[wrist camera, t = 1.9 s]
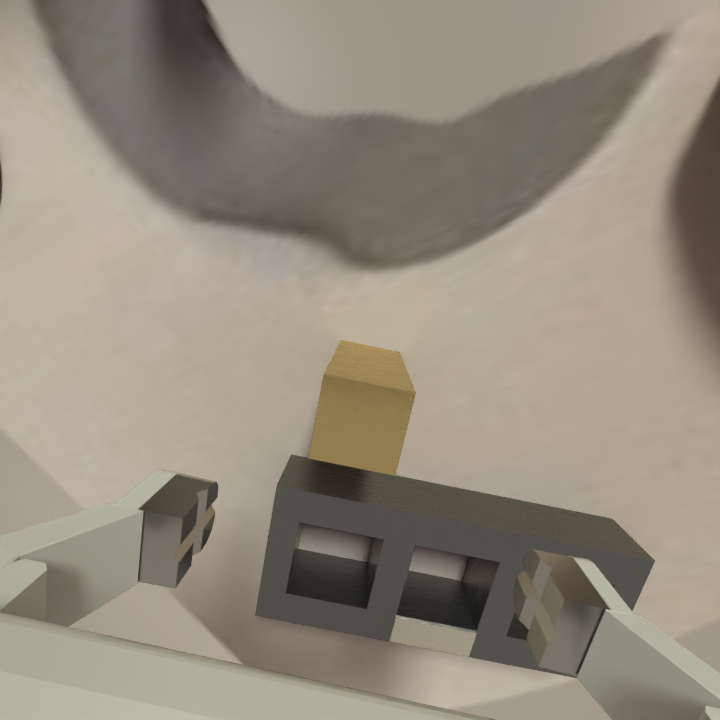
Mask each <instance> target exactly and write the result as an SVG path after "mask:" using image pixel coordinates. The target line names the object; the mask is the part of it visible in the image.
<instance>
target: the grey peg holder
mask: <svg viewBox="0 0 720 720" xmlns="http://www.w3.org/2000/svg"><path fill="white" fill-rule="evenodd" d="M303 523H305V524H310V525H315V526H320V527H325V528H330V529H335V530H340V531H345V532H350V533H355V534H360V535H365V536H370V537H374V538H373V543H372V547H371V551H370V555H369V559H368V563H366V562H361V561H356V560H351V559H346V558H341V557H336V556H331V555H325V554H320V553H315V552H310V551H305V550H300V549H298V546H299V541H300V536H301V530H302V525H303ZM415 545H416V546H421V547H426V548H431V549H436V550H441V551H446V552H451V553H456V554H461V555H466V556H470V558H469V561H468V564H467V567H466V570H465V574H464V577H463V580H462V581H457V580H452V579H447V578H442V577H437V576H432V575H427V574H422V573H417V572H412V571H408V570H409V566H410V563H411V559H412V555H413V552H414V548H415ZM528 549H533V550H539V551H544V552H549V553H554V554H559V555H564V556H572V557H578V558H583V559H588V560H590V561H591V562H593V563H594V564H595V565H596V566H597V568H598V569H599V570H600V571H601V573H602V574H603V575H604V576H605V578H606V579H607V580H608V582H609V583H610V584H611V585H612V587H613V588H614V589H615V591H616V592H617V593H618V594H619V596H620V597H621V598H622V599H623V601H624V602H625V603H626V605H627V606H628V607H629V608H630V610H631V611H633V608H634V606H635V604H636V602H637V600H638V597H639V595H640V593H641V591H642V588H643V586H644V584H645V582H646V580H647V577H648V575H649V573H650V571H651V569H652V566H653V564H654V562H655V560H654V559H653V558H652V557H651V556H650V555H649V554H648V553H647V552H646V551H644V550H643V549H642V548H641V547H640V546H639V545H638V544H637V543H636V542H635V541H634V540H633V539H632V538H631V537H630V536H629V535H628V534H627V533H626V532H625V531H624V530H623V529H622V528H621V527H620V526H619V525H618V524H617V523H616V522H615V521H614V520H613V519H610V518H605V517H600V516H595V515H590V514H585V513H580V512H575V511H570V510H565V509H560V508H555V507H550V506H545V505H540V504H535V503H530V502H525V501H520V500H515V499H510V498H505V497H500V496H495V495H490V494H485V493H480V492H475V491H470V490H465V489H460V488H455V487H450V486H445V485H440V484H435V483H430V482H425V481H420V480H415V479H410V478H405V477H400V476H394V475H389V474H384V473H379V472H374V471H369V470H364V469H359V468H354V467H349V466H344V465H339V464H334V463H329V462H324V461H319V460H314V459H309V458H305V457H300V456H295V455H291V456H290V459H289V461H288V463H287V465H286V467H285V469H284V471H283V474H282V476H281V478H280V480H279V482H278V484H277V488H276V494H275V500H274V506H273V512H272V518H271V524H270V530H269V536H268V542H267V548H266V554H265V560H264V566H263V572H262V578H261V584H260V590H259V596H258V602H257V608H256V614H255V615H256V616H261V617H267V618H272V619H277V620H282V621H287V622H292V623H297V624H302V625H308V626H313V627H318V628H323V629H328V630H333V631H338V632H343V633H349V634H354V635H359V636H364V637H369V638H374V639H379V640H385V641H390V642H395V643H400V644H405V645H410V646H415V647H420V648H426V649H431V650H436V651H441V652H446V653H451V654H456V655H461V656H467V657H472V658H477V659H482V660H487V661H492V662H497V663H502V664H508V665H513V666H518V667H523V668H528V669H533V670H538V671H543V672H549V673H554V674H559V675H564V676H569V677H574V678H577V676H574V675H570V674H566V673H562V672H558V671H554V670H550V669H546V668H542V667H539V666H538V664H537V661H536V659H535V657H534V654H533V652H532V650H531V647H530V645H529V643H528V640H527V638H526V637H527V634H528V631H529V629H528V628H527V627H526V626H525V625H524V624H523V623H522V622H521V621H520V620H519V619H518V616H517V614H516V611H515V608H514V603H513V586H514V583H515V580H516V576H518V575H519V574H521V573H522V572H523V571H525V569H524V566H523V564H522V559H523V556H524V554H525V552H526V551H527V550H528Z"/></svg>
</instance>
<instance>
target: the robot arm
mask: <svg viewBox="0 0 720 720" xmlns="http://www.w3.org/2000/svg"><path fill="white" fill-rule="evenodd" d="M217 494H218V484H217V482H215V481H211V480H206V479H202V478H198V477H194V476H189V475H185V474H181V473H180V474H179V473H177V472H172V471H167V470H162V469H161V470H156V471H155V472H154V473H153V474H151V475H150V476H149V477H148V478H146V479H145V480H144V481H143V482H142V483H140V484H139V485H138V486H137V487H135V488H134V489H133V490H132V491H131V492H129V493H128V494H127V495H126V496H124V497H123V498H122V499H121V500H119V501H118V502H117V503H116V504H115V505H114V504H109V503H108V504H104V505H101V506H98V507H95V508H91V509H88V510H85V511H82V512H78V513H75V514H72V515H69V516H65V517H62V518H59V519H56V520H52V521H49V522H46V523H43V524H39V525H36V526H33V527H29V528H26V529H23V530H19V531H16V532H13V533H10V534H7V535H4V536H0V720H494V719H490V718H485V717H480V716H476V715H471V714H467V713H462V712H458V711H453V710H449V709H444V708H440V707H435V706H430V705H426V704H421V703H417V702H412V701H407V700H403V699H398V698H393V697H389V696H384V695H380V694H375V693H370V692H366V691H361V690H356V689H352V688H347V687H343V686H338V685H333V684H329V683H324V682H319V681H315V680H310V679H306V678H301V677H296V676H292V675H287V674H282V673H278V672H273V671H269V670H264V669H259V668H255V667H250V666H246V665H241V664H236V663H232V662H226V661H222V660H218V659H213V658H208V657H204V656H199V655H195V654H190V653H186V652H181V651H176V650H172V649H167V648H163V647H158V646H153V645H149V644H144V643H140V642H134V641H130V640H126V639H121V638H116V637H112V636H107V635H103V634H98V633H93V632H89V631H84V630H80V629H75V628H70V627H69V626H70V625H72V624H73V623H75V622H76V621H78V620H80V619H81V618H83V617H85V616H86V615H88V614H90V613H91V612H93V611H94V610H96V609H98V608H99V607H101V606H103V605H104V604H106V603H107V602H109V601H111V600H112V599H114V598H115V597H117V596H119V595H120V594H122V593H123V592H125V591H127V590H128V589H130V588H131V587H133V586H135V585H136V584H137V583H138V582H143V583H149V584H154V585H159V586H165V587H170V588H176V587H177V585H178V584H179V582H180V581H181V579H182V578H183V577H184V575H185V574H186V572H187V571H188V569H189V568H190V566H191V561H192V556H193V555H195V554H197V553H198V552H200V551H201V550H202V548H203V547H204V545H205V544H206V542H207V540H208V537H209V535H210V533H211V530H212V527H213V523H214V518H215V511H214V509H213V507H212V506H211V505H212V503H213V502H214V501H215V499H216V498H217ZM522 564H523V566H524V569H525V571H523V572H522V573H521V574H519V575H518V576H516V580H515V583H514V586H513V603H514V608H515V611H516V614H517V616H518V619H519V620H520V621H521V622H522V623H523V624H524V625H525V626H526V627H527V628H528V629H529V631H528V634H527V637H526V638H527V640H528V643H529V645H530V647H531V650H532V652H533V654H534V657H535V659H536V661H537V664H538V666H539V667H542V668H546V669H550V670H554V671H558V672H562V673H566V674H570V675H574V676H577V679H578V680H579V681H580V683H581V684H582V685H583V686H584V687H585V688H586V690H587V691H588V692H589V693H590V694H591V695H592V697H593V698H594V699H595V700H596V701H597V702H598V704H599V705H600V706H601V707H602V708H603V709H604V711H605V712H606V713H607V714H608V715H609V716H610V718H611V719H612V720H720V673H718V672H717V671H715V670H714V669H713V668H711V667H710V666H708V665H707V664H706V663H704V662H703V661H702V660H700V659H699V658H697V657H696V656H695V655H693V654H692V653H691V652H689V651H688V650H687V649H685V648H684V647H682V646H681V645H680V644H678V643H677V642H675V641H674V640H673V639H671V638H670V637H669V636H667V635H666V634H664V633H663V632H662V631H660V630H659V629H658V628H656V627H655V626H653V625H652V624H651V623H649V622H648V621H647V620H645V619H644V618H642V617H639V616H635V615H634V613H633V612H632V611H631V610H630V608H629V607H628V606H627V605H626V603H625V602H624V601H623V599H622V598H621V597H620V596H619V594H618V593H617V592H616V591H615V589H614V588H613V587H612V585H611V584H610V583H609V582H608V580H607V579H606V578H605V576H604V575H603V574H602V573H601V571H600V570H599V569H598V568H597V566H596V565H595V564H594V563H593V562H591V561H590V560H588V559H583V558H578V557H572V556H564V555H559V554H554V553H549V552H544V551H539V550H533V549H528V550H527V551H526V552H525V554H524V556H523V559H522Z"/></svg>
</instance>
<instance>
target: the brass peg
mask: <svg viewBox="0 0 720 720" xmlns="http://www.w3.org/2000/svg"><path fill="white" fill-rule="evenodd" d="M415 394H416V392H415V390H414V387H413V385H412V382H411V380H410V377H409V375H408V372H407V370H406V367H405V365H404V362H403V360H402V357H401V355H400V352H397V351H392V350H387V349H382V348H377V347H372V346H367V345H363V344H358V343H353V342H348V341H343V340H341V342H340V344H339V346H338V348H337V349H336V351H335V353H334V355H333V357H332V359H331V361H330V363H329V365H328V367H327V369H326V371H325V373H324V376H323V381H322V387H321V392H320V397H319V403H318V408H317V414H316V419H315V425H314V430H313V435H312V441H311V446H310V452H309V457H308V458H309V459H314V460H319V461H324V462H329V463H334V464H339V465H344V466H349V467H354V468H359V469H364V470H369V471H374V472H379V473H384V474H389V475H394V476H395V475H396V471H397V467H398V463H399V459H400V454H401V450H402V446H403V442H404V438H405V434H406V430H407V426H408V422H409V418H410V414H411V410H412V406H413V402H414V398H415Z"/></svg>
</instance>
